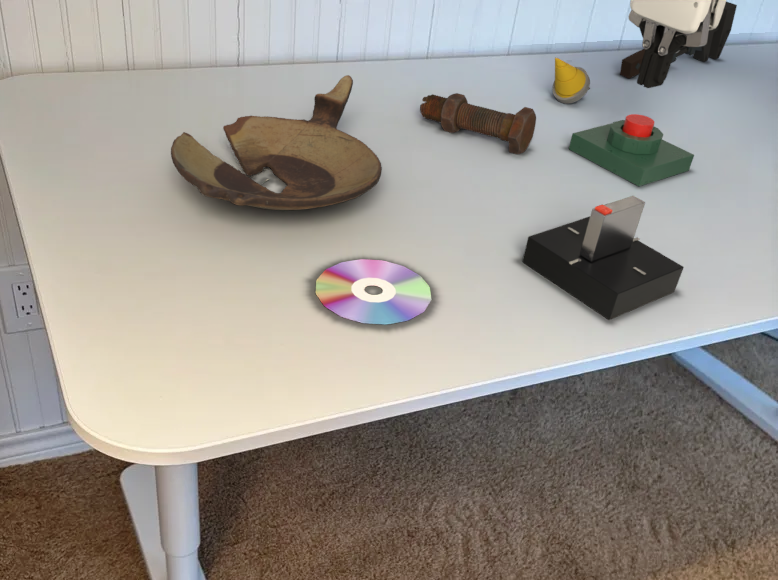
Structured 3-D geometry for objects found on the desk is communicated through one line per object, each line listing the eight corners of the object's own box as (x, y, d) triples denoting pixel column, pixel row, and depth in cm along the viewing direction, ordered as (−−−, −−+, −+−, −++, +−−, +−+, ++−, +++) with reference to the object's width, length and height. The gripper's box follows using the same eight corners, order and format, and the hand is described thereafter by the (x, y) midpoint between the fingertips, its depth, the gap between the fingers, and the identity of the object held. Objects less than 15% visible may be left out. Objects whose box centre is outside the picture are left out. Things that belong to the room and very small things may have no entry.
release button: (656, 136, 105) (660, 122, 104) (638, 141, 104) (642, 127, 102) (634, 125, 107) (638, 112, 106) (616, 130, 106) (620, 116, 104)
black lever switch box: (675, 292, 84) (685, 265, 82) (608, 320, 79) (617, 292, 77) (587, 239, 91) (595, 212, 89) (521, 262, 86) (527, 235, 84)
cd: (360, 247, 85) (360, 247, 85) (453, 288, 80) (453, 287, 80) (290, 292, 78) (290, 291, 78) (388, 339, 73) (389, 339, 73)
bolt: (424, 131, 114) (525, 159, 108) (410, 122, 109) (515, 151, 104) (437, 88, 112) (540, 114, 107) (424, 77, 108) (531, 104, 102)
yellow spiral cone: (594, 110, 122) (572, 70, 113) (559, 117, 124) (535, 78, 116) (597, 78, 123) (576, 36, 115) (562, 86, 126) (539, 45, 117)
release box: (688, 170, 107) (699, 141, 104) (639, 186, 102) (648, 155, 99) (618, 136, 114) (626, 107, 111) (568, 149, 109) (575, 119, 106)
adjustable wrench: (614, 101, 137) (712, 49, 146) (626, 107, 135) (725, 54, 144) (621, 51, 131) (723, 0, 139) (634, 57, 129) (737, 4, 138)
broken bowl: (126, 187, 91) (118, 119, 86) (321, 123, 108) (324, 63, 103) (262, 272, 80) (262, 199, 75) (454, 185, 98) (464, 122, 93)
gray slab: (619, 240, 85) (633, 193, 81) (630, 247, 84) (646, 199, 80) (579, 254, 82) (592, 206, 78) (591, 262, 81) (605, 213, 77)
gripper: (781, -72, 87) (718, 101, 99) (668, -103, 96) (623, 60, 108) (739, -68, 83) (679, 111, 95) (626, -101, 92) (584, 68, 104)
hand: (649, 84), depth 102 cm, fingers closed
